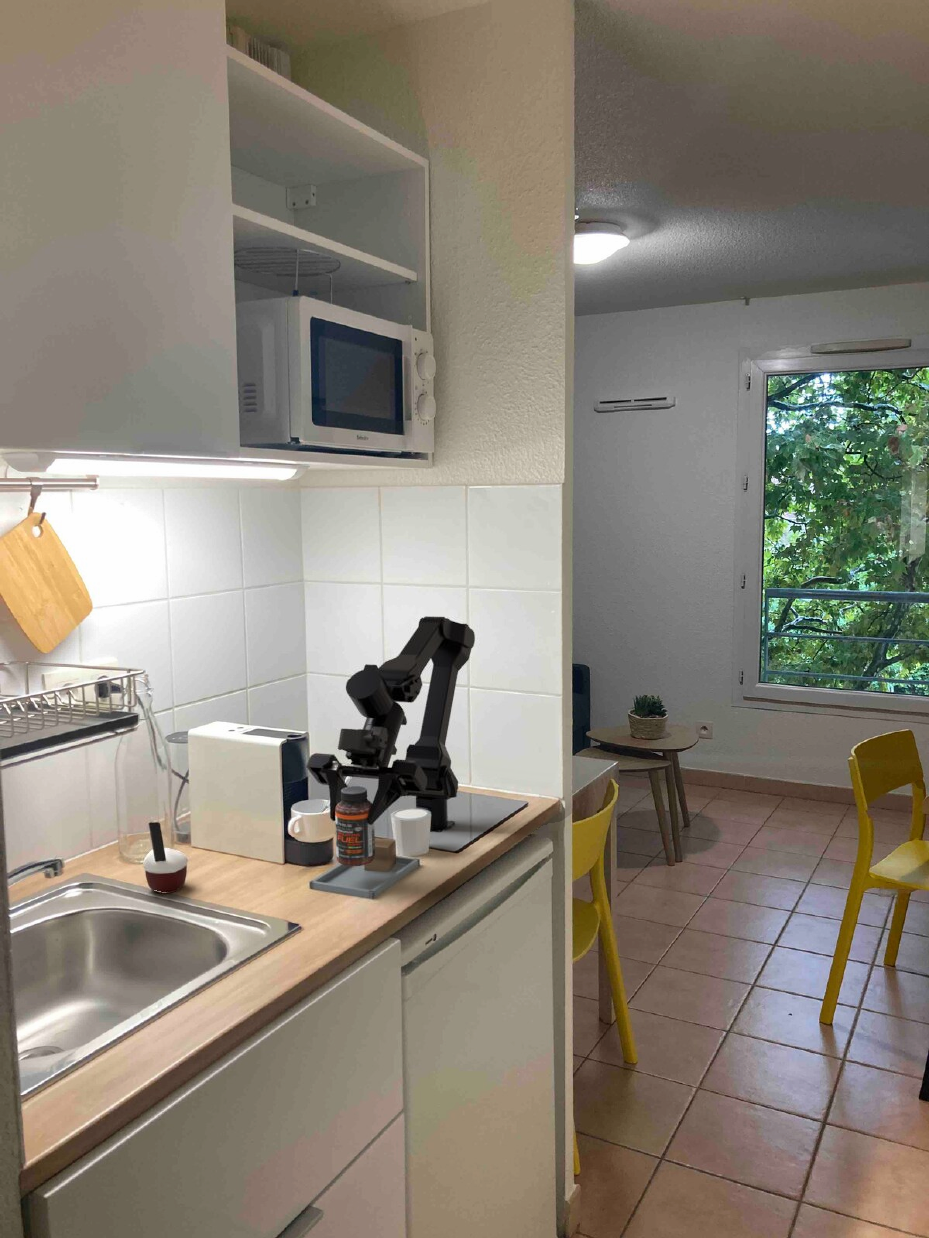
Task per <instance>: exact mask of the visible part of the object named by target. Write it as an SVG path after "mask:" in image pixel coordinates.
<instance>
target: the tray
mask: <svg viewBox="0 0 929 1238" xmlns="http://www.w3.org/2000/svg"><path fill="white" fill-rule="evenodd" d="M420 861H421V860H420V858H414V857H410V856H402V855H396V864H395V865H394V866H393V868H392V869H391V870H390V871H389V872H379V871H367V870H364V865H362V866H346V865H343V864H341V863H338V864H336V865H335V866H333V867H332V868H329V870H326V871H325V872H323V873H322V874H320V875H318V876H317V877H315V878H313V879H311V880H310V881H309V882H308V883H309V885H308V886H309V889H310V890H315V891H321V892H327V893H335V894H340V895H347V896H351V897H357V898H364V899H371V900H373V899H375V898H376V897H378V896H379V895H380V894H382V893H383V892H385V891H386V890H388V889H389V888H390V887H391V886H393V885H394V884H396V883H397V882H399V880H402V878H404V877H405V876H406V875H408V874H410V873H411V872H413V871H414V870H416V869H417V868H418V867H420V865H421V864H420V863H421V862H420Z"/></svg>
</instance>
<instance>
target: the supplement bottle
mask: <svg viewBox="0 0 929 1238" xmlns="http://www.w3.org/2000/svg"><path fill="white" fill-rule="evenodd" d="M341 799H342V800H341V802H339V803H338V804H337V806H336V808H335V821H334V822H335V848H336V849H335V850H336V852H335V853H336V860H337V862H338V864H340V863H341V864H343V865H346V866H362V865H366V864H368V863H370V862H372V861H373V860H374V858H375V838H376V836H375V822H374V823H373V824H372V825H369V824H368V822H367V820H368V815H369V812H370V809H371V806H372V803H373V802H372V801H370V800H369V799H368V789H367V788H366V787H364V786H359V785H353V786H351V785H350V786H348V787H346V788H343V789H342V790H341Z"/></svg>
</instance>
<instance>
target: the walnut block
mask: <svg viewBox="0 0 929 1238" xmlns="http://www.w3.org/2000/svg"><path fill="white" fill-rule="evenodd" d="M396 856H397V853H396V840H395V839H394V838H379V837H375V858H374V860H373V861H372V862H370V863H368V864H366V865H364V870H367V871H379V872H389V871H390V870H391V869H392V868H393V866H394V865H395V864H396Z"/></svg>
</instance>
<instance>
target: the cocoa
mask: <svg viewBox="0 0 929 1238" xmlns="http://www.w3.org/2000/svg"><path fill="white" fill-rule="evenodd" d="M161 827H162V826H161V823H160V822H157V821H155V822H153V821H152V822H151V821H150V822H149V823H148V828H149V829H148V830H149V835H150V840H151V846H152V850H150V851H149V852H148V853H147V855H145V858H143V863H142V868H143V869H144V873H145V878H146V882H147V884H148V887H149V888H150V889H151V890H152V891H153V890H157V891H161V892H171V893H173V891H174V892H176V890H177V891H178V890H180V888H181V887H183V886H184V884H185V882H186V879H187V872H188V861H189V859H188V858H187V856H186V855H185V854H184V853H183V852H182V851H179V850H177V849H172V848H169V847H165V844H164V839H163V834H162V828H161Z"/></svg>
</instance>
